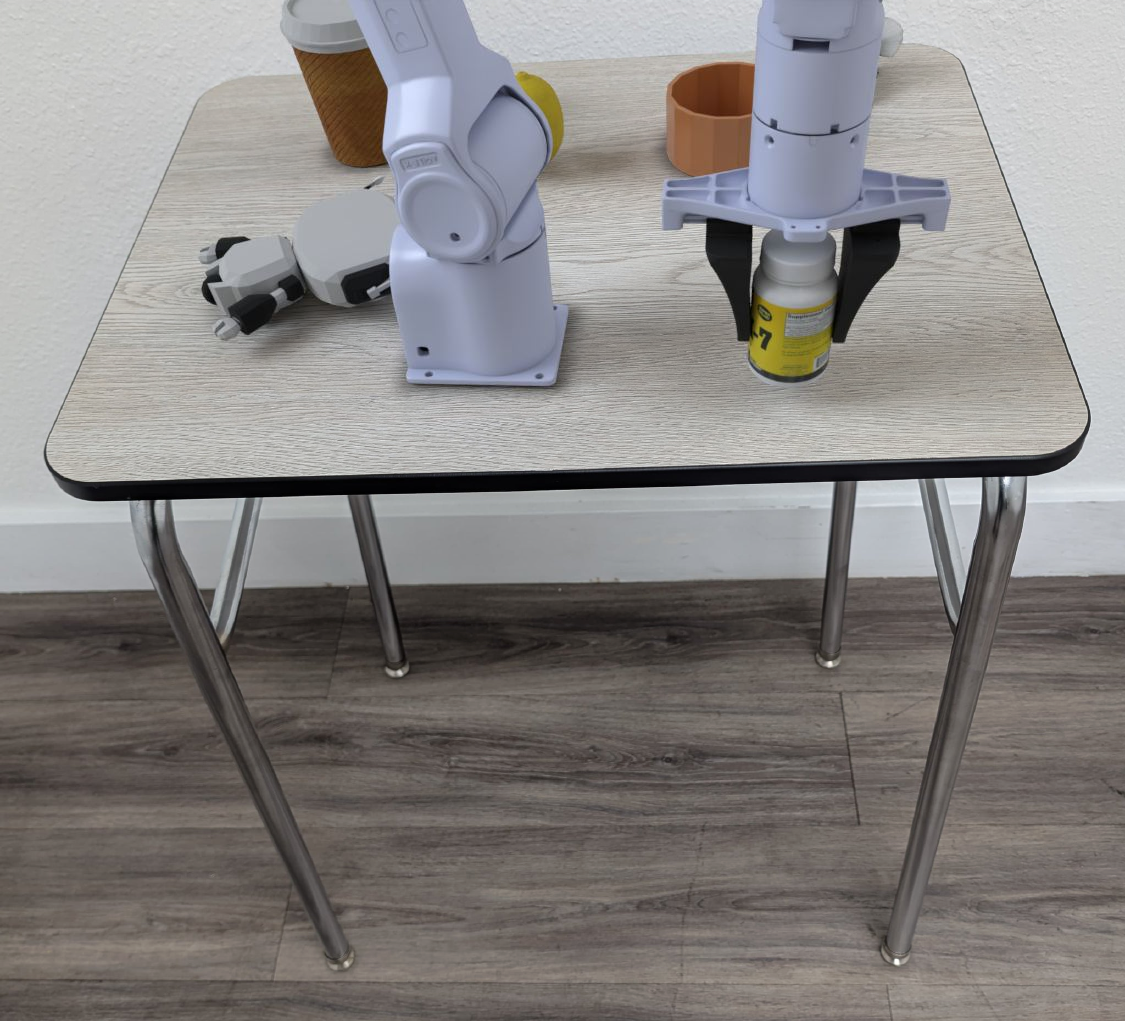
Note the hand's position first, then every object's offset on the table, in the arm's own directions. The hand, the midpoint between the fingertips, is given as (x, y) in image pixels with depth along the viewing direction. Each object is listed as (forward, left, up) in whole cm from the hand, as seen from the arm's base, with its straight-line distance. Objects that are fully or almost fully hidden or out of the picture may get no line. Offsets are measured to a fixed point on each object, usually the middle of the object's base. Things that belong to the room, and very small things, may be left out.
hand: (789, 331), depth 64 cm
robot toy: (-32, +9, -4) cm, 34 cm away
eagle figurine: (+5, +38, -4) cm, 39 cm away
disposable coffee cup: (-33, +29, -4) cm, 44 cm away
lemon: (-19, +25, -4) cm, 32 cm away
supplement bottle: (0, 0, -3) cm, 3 cm away
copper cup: (-4, +28, -4) cm, 29 cm away
